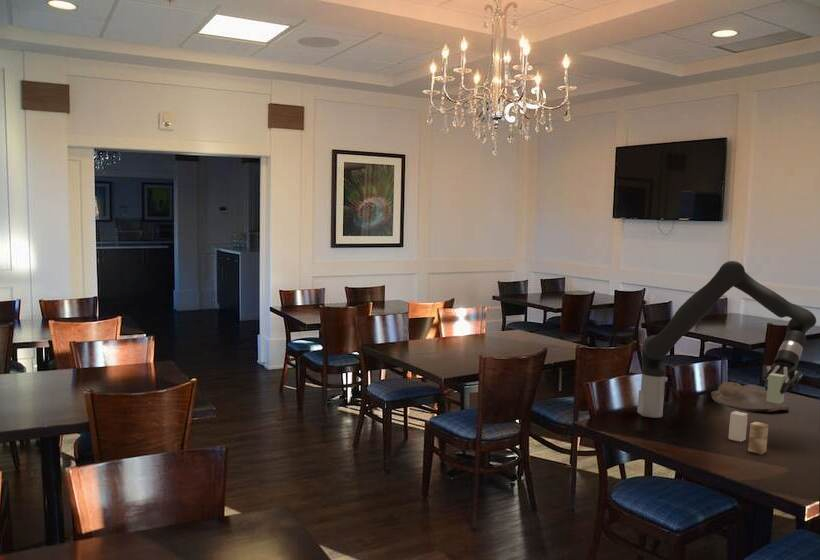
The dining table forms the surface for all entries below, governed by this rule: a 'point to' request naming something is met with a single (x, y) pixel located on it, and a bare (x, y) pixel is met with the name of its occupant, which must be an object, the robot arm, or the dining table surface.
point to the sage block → (775, 388)
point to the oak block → (758, 437)
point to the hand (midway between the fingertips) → (774, 391)
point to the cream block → (738, 426)
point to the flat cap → (744, 398)
